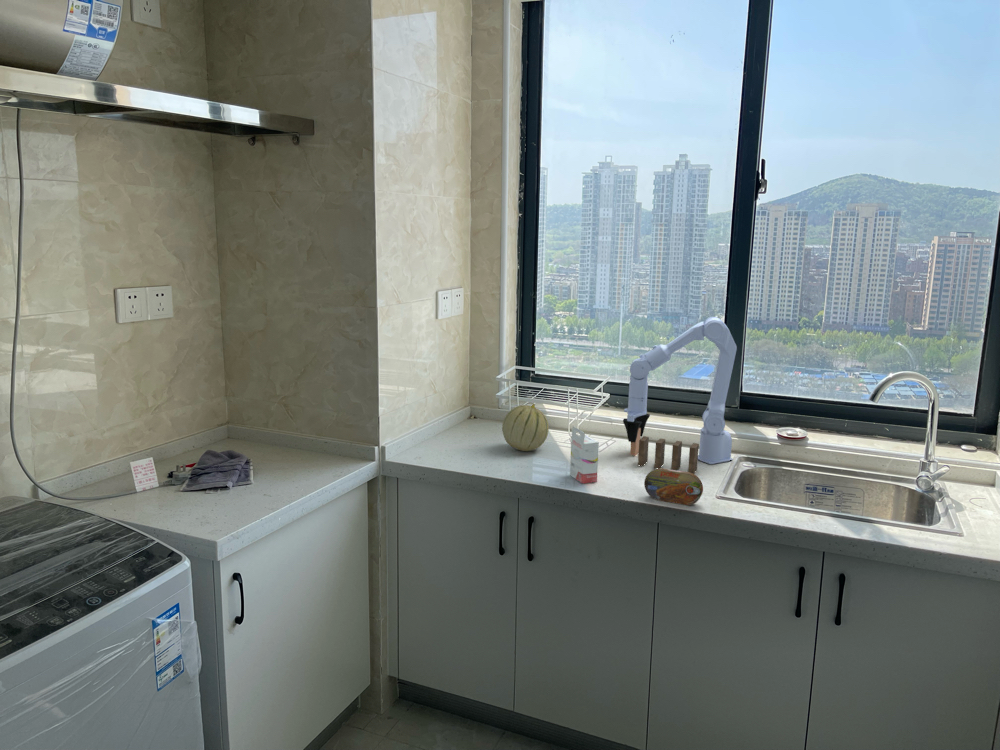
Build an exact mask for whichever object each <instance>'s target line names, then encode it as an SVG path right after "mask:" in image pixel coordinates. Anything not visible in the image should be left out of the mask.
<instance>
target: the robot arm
mask: <svg viewBox="0 0 1000 750" xmlns="http://www.w3.org/2000/svg"><path fill="white" fill-rule="evenodd" d="M704 337H705V338H706V339H708V341H711V342H712V343H713V344H714V345H715V346H716V348H717V349H718V350H719V353H718V357H717V363H716V366H715V367H716V368H715V373H714V377H713V382H712V388H711V393H710V398H709V401H708V403H707V406H706V409H705V410H704V412H703V413H702V417H701V418H702V422H703V426H702V427H701V429H700V433H699V434H700V435H699V449H698V461H701V462H704V463H706V464H709V465H715V464H720V463H726V462H731V461H730V460H732V461H733V458H731V457H732V447H733V446H732V444H733V440H732V435H731V433H729V431H727V430H726V429H725V427H726V421H725V417H724V416H725V412H726V411H725V410H726V402H727V397H728V392H729V388H730V383H731V379H732V377H731V376H732V373H733V368H734V363H735V359H736V354H737V350H738V348H737V344H736V342H735V340H734V337H733V335H732V334H731V331H730V329H729V328H728V326H727V324H726V323H725V322H724V321H723V320H722V319H721V318H719V317H716V316H710V317H707V318H705V320H704V321H699V322H698V323H696V324H695V325H692V326H691V327H690V328H688V329H686V331H684V332H682V333H681V334H680V335H678V336H677V337H676V338H674V339H673V340H671V341H670V342H668V343H667V344H662V343H661V344H658V345H657V344H655V345H653V346H652V349H650V350H649V351H647V352H645V353H641V354H639V358H635V359H633V361H632V362H631V364H630V367H629V372H630V376H629V386H628V400H627V401H628V404H627V405H628V406H627V408H624V409H623V412H625V413H627V416H626V418H623V419H622V423H623V425H624V427H625V431H626V434H627V441H628V442H629V443H631V442H636V439H637V434H638V430H639V428H641V434H640V438H642V437H643V436H644V435H643V434H644V432H645V428H646V424H647V422H648V420H649V418H650V417H651V415H650V413H648V410H647V408H648V407H647V405H648V388H649V382H648V376H649V374H650V372H651V371H652V372H653V371H655V370H656V369H658V368H660V367H661V366H662V365H665V364H666V363H667V362H669V361H671V360H672V354H674V353H675V352H676V351H678V350H680V349H682V348H684V347H686V346H688V344H690V343H692V342H694V341H705V338H704Z"/></svg>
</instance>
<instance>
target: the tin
mask: <svg viewBox="0 0 1000 750" xmlns="http://www.w3.org/2000/svg"><path fill="white" fill-rule="evenodd" d="M643 487H644V489H645V491H646V494H647V495H649V497H651V498H652V499H653V500H656V501H660V502H666V503H672V504H678V505H683V506H691V505H694V504H696V503H697V502H698V501H699V500H700V499H701V497H702V495H703V493H704V486H703V482H702V480H701V478H699V477H698V475H696V474H695V473H694V474H693V473H690V472H688V471H684V470H683V471H682V470H678V471H677V470H671V468H663V467H661V468H658V469H655V468H654V469H653V470H650V471H649V472H648V473H647V474H646V476H645V478H644V486H643Z"/></svg>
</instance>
